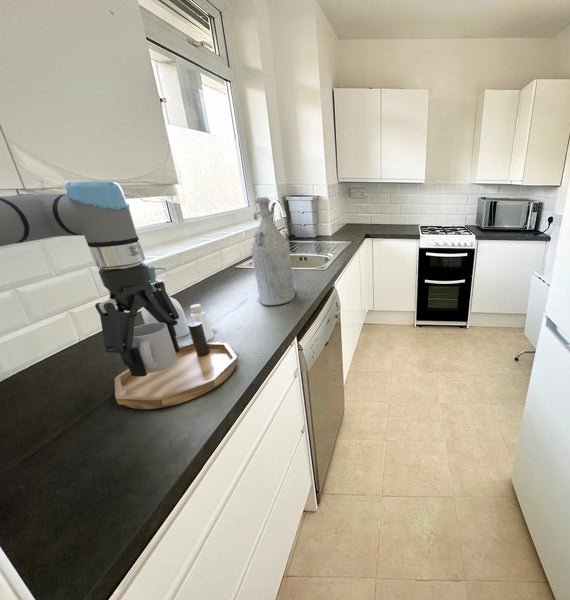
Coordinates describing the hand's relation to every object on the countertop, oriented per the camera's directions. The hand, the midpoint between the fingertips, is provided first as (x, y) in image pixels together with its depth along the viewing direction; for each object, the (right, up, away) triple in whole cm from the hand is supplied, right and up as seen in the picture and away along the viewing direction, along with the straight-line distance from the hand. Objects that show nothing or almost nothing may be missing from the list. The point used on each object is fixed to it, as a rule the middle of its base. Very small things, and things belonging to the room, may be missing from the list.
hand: (157, 362), depth 70 cm
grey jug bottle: (+5, +14, +57) cm, 59 cm away
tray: (0, -5, +8) cm, 9 cm away
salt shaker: (-6, +2, +27) cm, 27 cm away
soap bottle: (-17, +2, +27) cm, 32 cm away
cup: (0, -1, 0) cm, 1 cm away
